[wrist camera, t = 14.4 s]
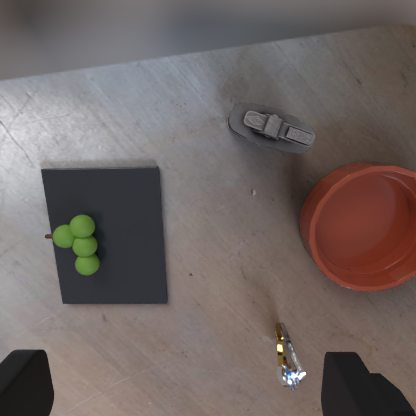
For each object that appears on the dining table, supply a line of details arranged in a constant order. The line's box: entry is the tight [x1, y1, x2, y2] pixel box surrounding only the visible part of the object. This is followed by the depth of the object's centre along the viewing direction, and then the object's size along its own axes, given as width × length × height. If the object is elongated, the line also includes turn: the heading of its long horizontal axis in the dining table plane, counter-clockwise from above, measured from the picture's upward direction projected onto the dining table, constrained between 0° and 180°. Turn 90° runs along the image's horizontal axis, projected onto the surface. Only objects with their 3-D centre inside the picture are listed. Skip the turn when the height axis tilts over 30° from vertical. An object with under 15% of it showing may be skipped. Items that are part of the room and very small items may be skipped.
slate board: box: [41, 167, 167, 304], centre depth 37 cm, size 18×14×1 cm
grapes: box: [45, 215, 100, 275], centre depth 36 cm, size 8×3×6 cm
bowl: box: [299, 162, 416, 291], centre depth 34 cm, size 14×14×4 cm
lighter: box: [227, 103, 315, 154], centre depth 29 cm, size 8×3×10 cm, turn 71°
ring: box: [275, 323, 305, 391], centre depth 36 cm, size 7×3×8 cm, turn 5°
